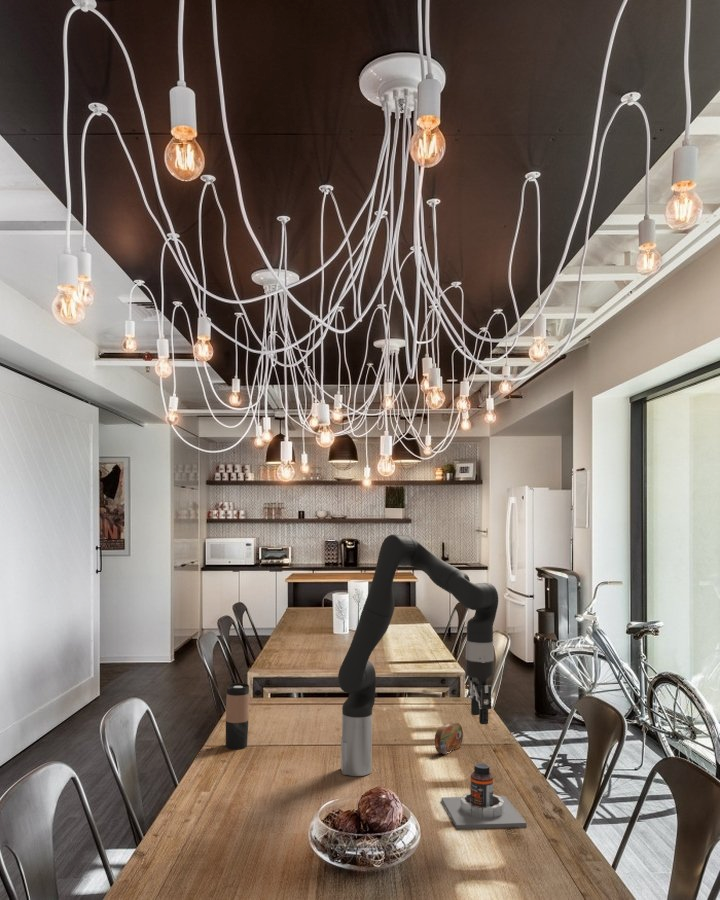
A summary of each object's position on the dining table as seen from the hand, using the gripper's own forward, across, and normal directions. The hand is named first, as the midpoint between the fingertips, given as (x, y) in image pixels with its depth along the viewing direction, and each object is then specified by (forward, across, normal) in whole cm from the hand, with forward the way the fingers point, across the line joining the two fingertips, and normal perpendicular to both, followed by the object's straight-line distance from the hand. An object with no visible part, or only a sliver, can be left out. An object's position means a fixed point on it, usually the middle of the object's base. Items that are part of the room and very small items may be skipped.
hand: (479, 719), depth 196 cm
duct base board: (+24, +1, +1) cm, 24 cm away
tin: (+24, -51, +4) cm, 57 cm away
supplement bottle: (+23, +1, 0) cm, 23 cm away
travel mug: (+25, -60, -68) cm, 94 cm away
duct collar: (+24, +1, +1) cm, 24 cm away
